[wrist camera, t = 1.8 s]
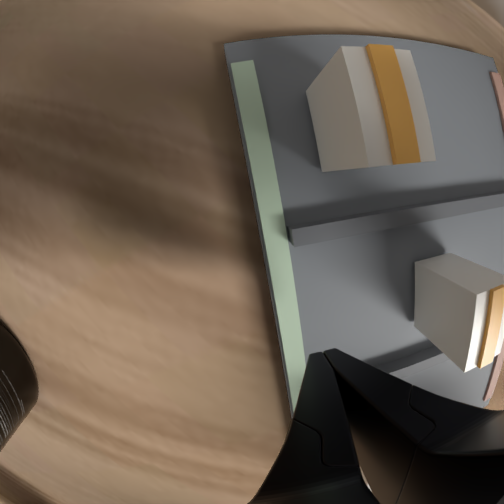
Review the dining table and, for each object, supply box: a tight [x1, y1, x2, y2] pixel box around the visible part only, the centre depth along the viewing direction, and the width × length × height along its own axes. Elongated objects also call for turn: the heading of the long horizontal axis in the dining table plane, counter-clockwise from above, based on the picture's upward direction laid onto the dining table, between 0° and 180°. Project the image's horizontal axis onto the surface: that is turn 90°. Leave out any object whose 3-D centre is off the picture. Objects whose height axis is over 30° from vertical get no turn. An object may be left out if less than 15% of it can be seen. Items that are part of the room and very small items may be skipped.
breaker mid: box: [414, 253, 504, 373], centre depth 9 cm, size 2×3×4 cm, turn 10°
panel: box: [224, 35, 504, 418], centre depth 12 cm, size 14×22×2 cm, turn 11°
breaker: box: [306, 44, 436, 172], centre depth 8 cm, size 2×3×4 cm, turn 11°
